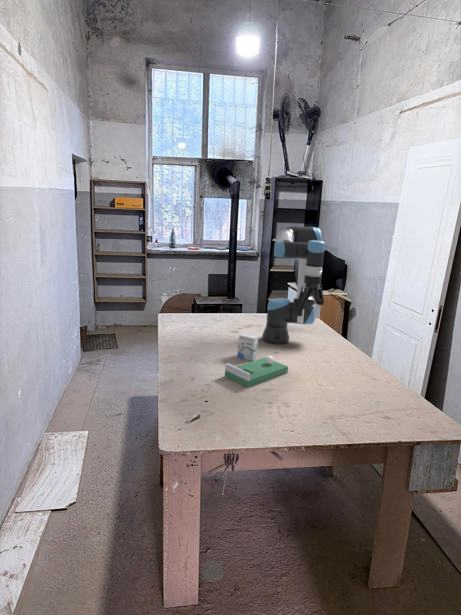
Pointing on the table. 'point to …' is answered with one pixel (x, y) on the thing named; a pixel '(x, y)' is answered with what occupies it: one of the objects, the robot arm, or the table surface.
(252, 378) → the putting deck
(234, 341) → the table surface
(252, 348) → the ink box
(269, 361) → the ball
